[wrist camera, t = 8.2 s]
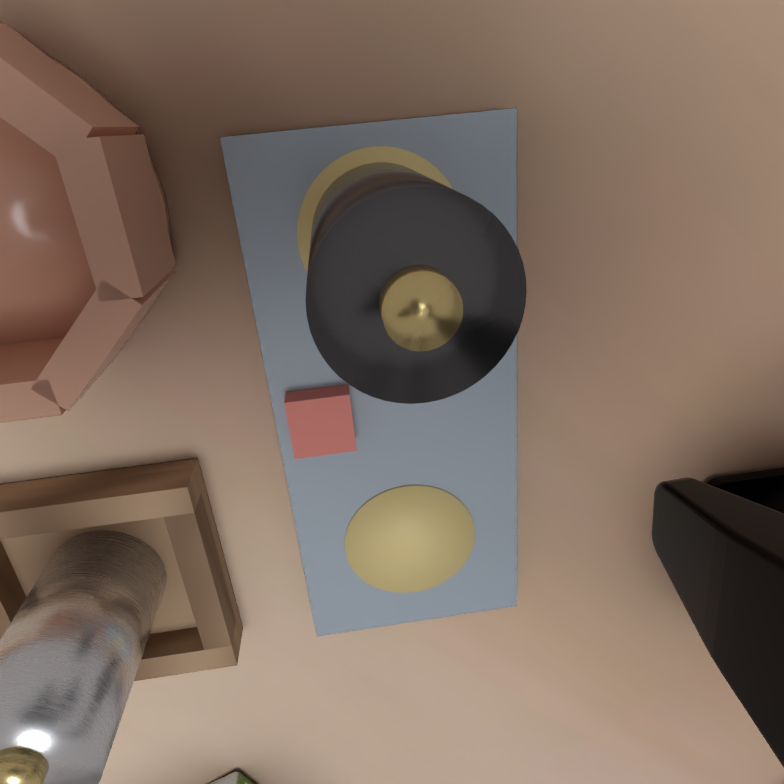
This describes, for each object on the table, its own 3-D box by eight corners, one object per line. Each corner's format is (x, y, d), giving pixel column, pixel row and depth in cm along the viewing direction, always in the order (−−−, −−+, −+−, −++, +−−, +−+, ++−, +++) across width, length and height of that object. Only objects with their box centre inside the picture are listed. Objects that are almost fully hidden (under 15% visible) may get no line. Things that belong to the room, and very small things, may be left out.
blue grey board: (505, 109, 17) (525, 107, 15) (509, 588, 24) (522, 621, 23) (225, 136, 16) (214, 137, 15) (317, 617, 24) (316, 653, 22)
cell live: (150, 523, 21) (65, 722, 14) (178, 608, 22) (114, 824, 15) (33, 538, 20) (-114, 750, 13) (70, 624, 22) (-45, 851, 15)
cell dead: (446, 155, 16) (538, 177, 9) (453, 296, 18) (535, 402, 11) (301, 169, 16) (286, 203, 9) (321, 311, 18) (322, 430, 11)
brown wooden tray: (197, 458, 20) (187, 487, 19) (242, 628, 24) (237, 665, 22) (-42, 489, 20) (-74, 522, 18) (38, 658, 23) (17, 698, 22)
